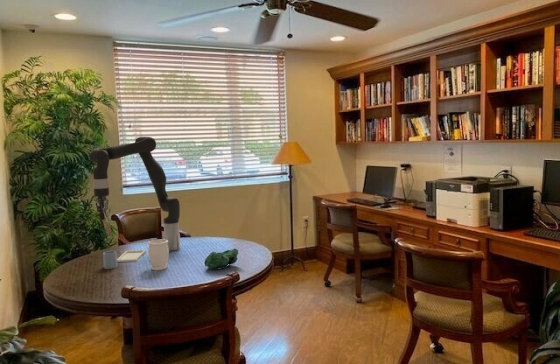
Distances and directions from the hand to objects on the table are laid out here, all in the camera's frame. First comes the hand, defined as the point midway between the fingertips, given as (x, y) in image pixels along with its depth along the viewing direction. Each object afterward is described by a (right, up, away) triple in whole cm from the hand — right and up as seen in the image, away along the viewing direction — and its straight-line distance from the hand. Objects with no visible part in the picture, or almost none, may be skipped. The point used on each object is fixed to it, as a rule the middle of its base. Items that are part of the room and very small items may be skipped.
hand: (103, 218), depth 232 cm
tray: (+7, -25, +23) cm, 35 cm away
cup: (+3, -27, +3) cm, 28 cm away
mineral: (+64, -26, 0) cm, 70 cm away
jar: (+30, -27, +1) cm, 41 cm away
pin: (+2, -10, +1) cm, 10 cm away
